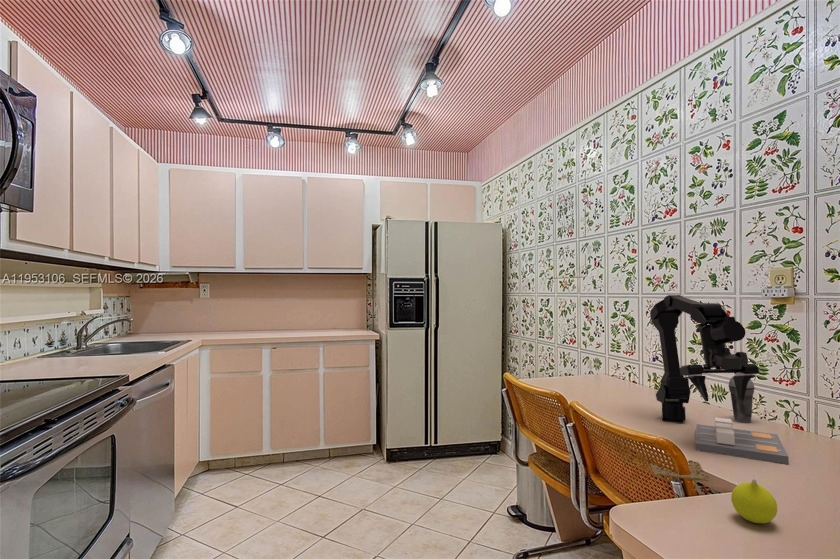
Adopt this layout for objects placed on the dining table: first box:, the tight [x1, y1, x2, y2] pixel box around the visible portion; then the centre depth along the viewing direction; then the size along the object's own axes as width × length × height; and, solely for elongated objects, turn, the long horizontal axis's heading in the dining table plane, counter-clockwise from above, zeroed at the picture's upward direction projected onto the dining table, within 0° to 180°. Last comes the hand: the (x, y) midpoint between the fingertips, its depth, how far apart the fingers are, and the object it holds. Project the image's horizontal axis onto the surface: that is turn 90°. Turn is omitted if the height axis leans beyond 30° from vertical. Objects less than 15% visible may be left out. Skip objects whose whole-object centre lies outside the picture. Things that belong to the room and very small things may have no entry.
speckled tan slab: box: [649, 460, 711, 482], centre depth 109 cm, size 12×12×1 cm
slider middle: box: [715, 423, 734, 437], centre depth 126 cm, size 4×4×3 cm
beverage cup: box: [728, 374, 756, 424], centre depth 147 cm, size 7×7×20 cm
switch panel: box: [695, 423, 790, 465], centre depth 124 cm, size 20×20×2 cm
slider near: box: [716, 428, 735, 445], centre depth 121 cm, size 4×4×3 cm
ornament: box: [730, 477, 778, 524], centre depth 84 cm, size 7×7×10 cm
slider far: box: [714, 417, 733, 426], centre depth 131 cm, size 4×4×3 cm
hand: (724, 401), depth 122 cm, fingers open, 9 cm apart
